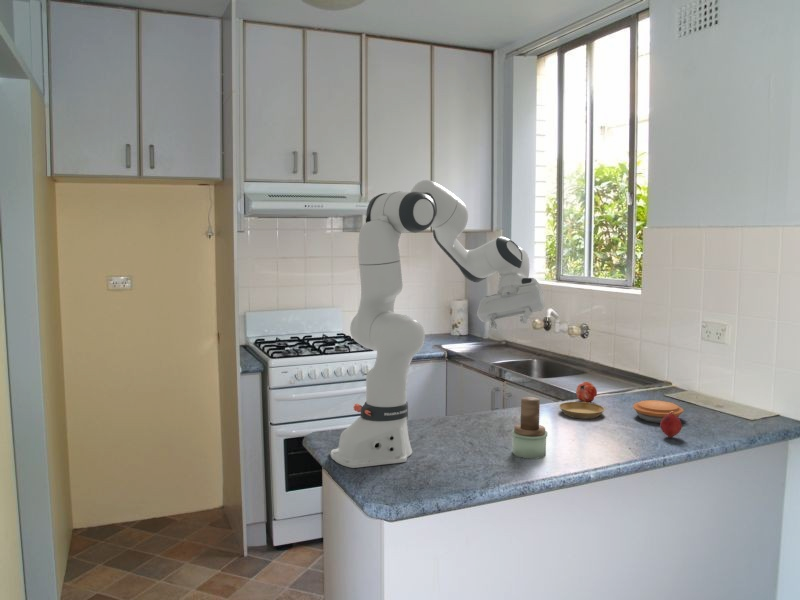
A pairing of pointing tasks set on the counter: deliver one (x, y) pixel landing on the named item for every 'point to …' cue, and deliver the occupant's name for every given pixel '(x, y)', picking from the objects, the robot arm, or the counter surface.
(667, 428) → the onion
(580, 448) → the counter surface
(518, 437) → the canister
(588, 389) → the pomegranate
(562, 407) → the plant saucer
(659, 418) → the pie
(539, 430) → the lid
